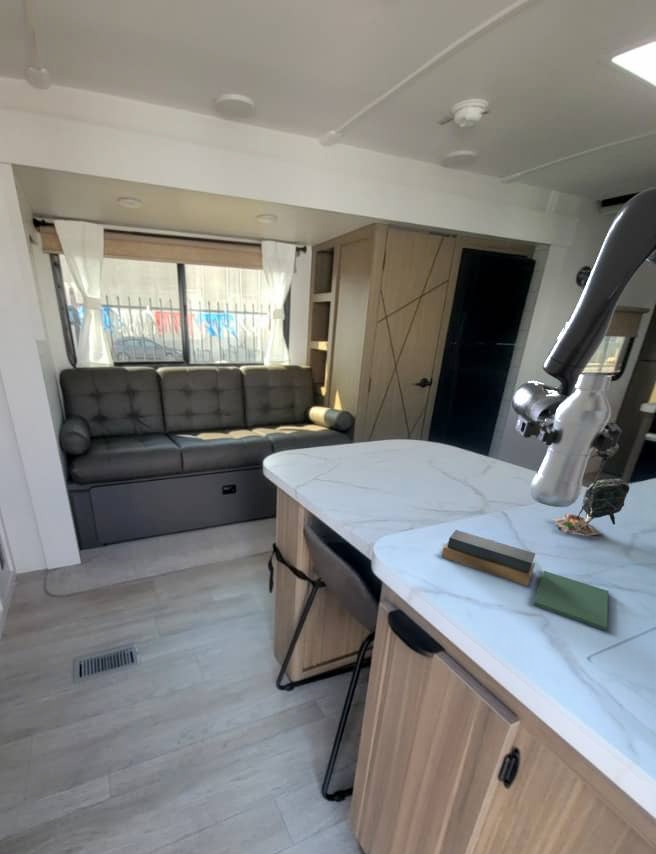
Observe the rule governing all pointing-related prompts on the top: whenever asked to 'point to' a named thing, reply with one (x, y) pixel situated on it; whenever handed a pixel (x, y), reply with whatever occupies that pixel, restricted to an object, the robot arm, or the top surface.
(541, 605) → the drying mat
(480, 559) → the grey and wooden block
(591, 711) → the top surface
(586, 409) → the silver metal bottle
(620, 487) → the plant with pod
